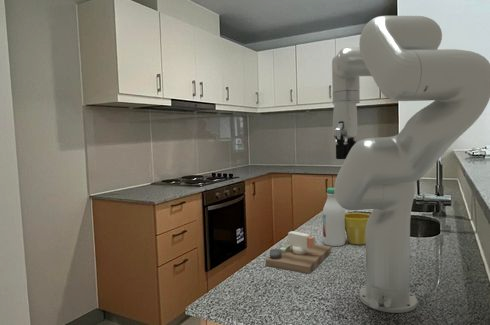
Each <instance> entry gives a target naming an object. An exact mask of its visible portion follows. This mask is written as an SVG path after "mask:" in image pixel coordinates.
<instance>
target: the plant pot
mask: <svg viewBox="0 0 490 325" xmlns="http://www.w3.org/2000/svg"><path fill="white" fill-rule="evenodd" d="M370 214H371V213H370ZM370 214H369V213H364V212H363V213H362V212H347V213H345V235H346V237H347V238H346V239H347V241H348V243H349V244H352V245H360V246H361V245H366V224H367V220H368V218H369V216H370Z"/></svg>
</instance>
